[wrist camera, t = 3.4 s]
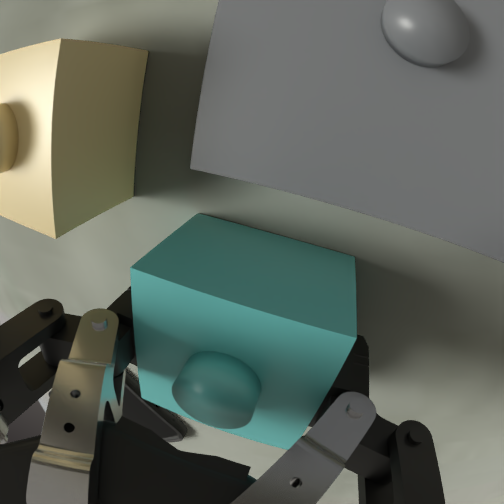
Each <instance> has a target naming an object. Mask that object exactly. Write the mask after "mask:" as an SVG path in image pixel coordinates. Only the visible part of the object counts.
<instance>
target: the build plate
mask: <svg viewBox="0 0 504 504" xmlns="http://www.w3.org/2000/svg"><path fill="white" fill-rule="evenodd" d="M190 169H193V170H198V171H202V172H207V173H212V174H216V175H220V176H225V177H229V178H233V179H238V180H242V181H246V182H250V183H254V184H258V185H262V186H266V187H270V188H274V189H278V190H282V191H286V192H290V193H293V194H297V195H301V196H305V197H308V198H312V199H315V200H319V201H323V202H326V203H330V204H333V205H337V206H340V207H343V208H347V209H350V210H354V211H357V212H360V213H363V214H367V215H370V216H373V217H376V218H380V219H383V220H386V221H389V222H392V223H395V224H398V225H401V226H404V227H407V228H410V229H413V230H416V231H419V232H422V233H425V234H428V235H431V236H434V237H437V238H440V239H442V240H445V241H448V242H451V243H454V244H456V245H459V246H462V247H464V248H467V249H470V250H472V251H475V252H478V253H480V254H483V255H486V256H488V257H491V258H493V259H496V260H498V261H501V262H503V263H504V0H219V2H218V6H217V11H216V15H215V20H214V24H213V29H212V34H211V39H210V44H209V49H208V55H207V60H206V65H205V71H204V77H203V82H202V88H201V94H200V100H199V107H198V113H197V120H196V127H195V134H194V141H193V148H192V156H191V164H190Z"/></svg>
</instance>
